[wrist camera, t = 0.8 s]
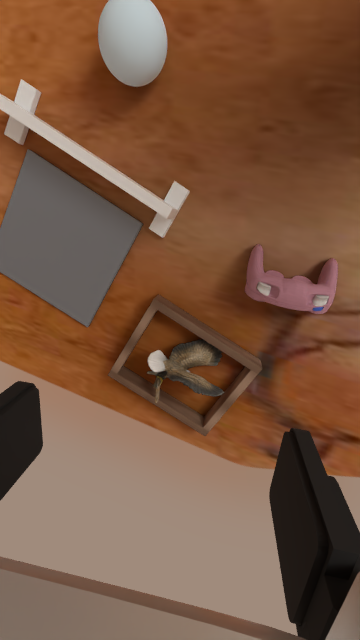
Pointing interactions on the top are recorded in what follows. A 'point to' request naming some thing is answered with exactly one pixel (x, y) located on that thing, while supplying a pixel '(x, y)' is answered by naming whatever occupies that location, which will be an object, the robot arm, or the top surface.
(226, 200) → the top surface
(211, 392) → the eagle figurine
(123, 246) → the mat
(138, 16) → the rubber ball
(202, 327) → the rim
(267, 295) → the video game controller
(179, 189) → the divider wall
